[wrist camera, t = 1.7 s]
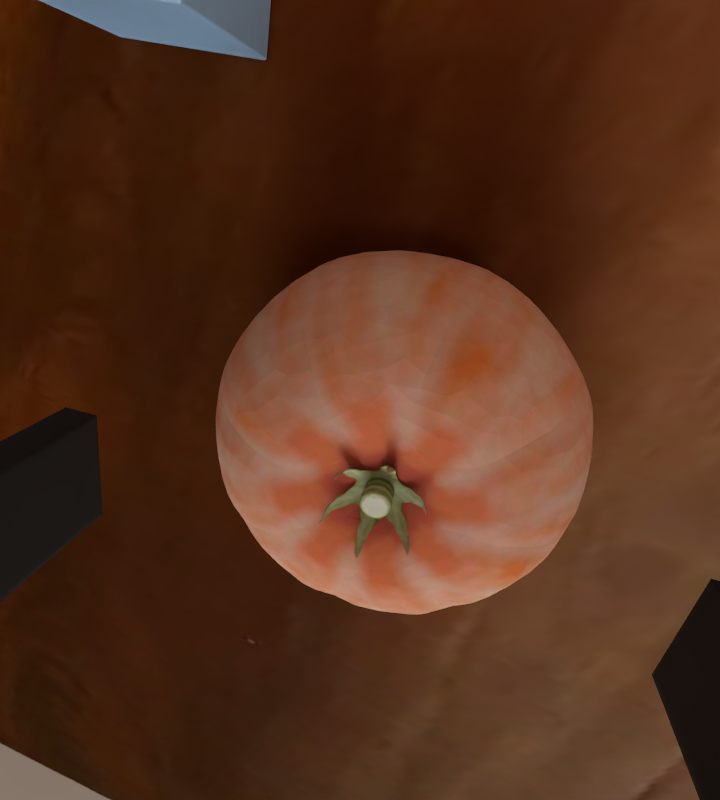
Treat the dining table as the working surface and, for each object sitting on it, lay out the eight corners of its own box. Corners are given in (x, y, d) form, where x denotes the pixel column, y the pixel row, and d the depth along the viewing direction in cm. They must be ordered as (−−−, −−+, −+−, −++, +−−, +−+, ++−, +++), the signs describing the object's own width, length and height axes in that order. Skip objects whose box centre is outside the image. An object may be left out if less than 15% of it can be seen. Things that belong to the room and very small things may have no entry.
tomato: (629, 308, 16) (767, 407, 8) (484, 550, 20) (492, 747, 13) (316, 189, 16) (192, 186, 9) (245, 451, 21) (126, 588, 14)
